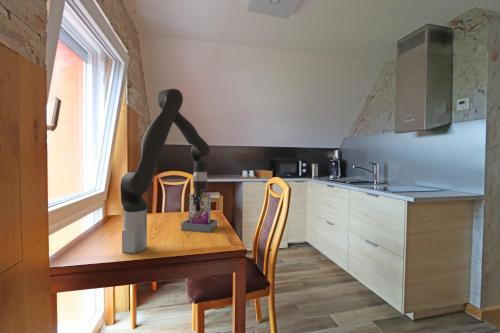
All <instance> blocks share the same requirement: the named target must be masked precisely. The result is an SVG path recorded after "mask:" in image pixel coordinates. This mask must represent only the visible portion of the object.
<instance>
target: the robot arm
mask: <svg viewBox="0 0 500 333" xmlns="http://www.w3.org/2000/svg"><path fill="white" fill-rule="evenodd" d="M155 99H156V102H157V105H158V106H159V107H160V110H161V111H160V112H159V114H158V115H157V117H156V118H154V119H153V121H152V122H151V123H150V124H149V126H148V127H147V129H146V131H145V133H144V134H143V136H142V139H141V145H140V154H141V155H140V156H141V157H140V161H139V164H138V166H137V168H136V170H135V172H134V171H130V172H127V173H125V174H123V176H122V177H121V180H120V185H119V186H120V189H119V190H120V202H121V205H122V209H123V211H122V212H123V213H122V214H123V216H122V217H123V218H122V222H123V227H122V229H121V253H126V254H137V253H140V252H144V251H145V250H146V249H147V248H148V204H147V201H145V200H144V197H143V195H144V194H146V193H147V192H148V190H150V188H151V185H152V181H153V178H154V174H155V172H156V166H157V164H158V162H159V159H160V157H161V153H162V150H163V149H164V147H165V144H166V141H167V139H168V136H169V133H170V130H171V128H172V126H173V123H174V125H175V127H177V128H178V130H179V131H180V133H181V135H182V136H183V137H184V139H185V140H186V142H187V143H188V144H189V145H192V146H191V147H190V148H191V149H190V154H191V159H192V162H193V176H192V179H193V180H192V181H193V182H192V188H193V189H194V190H195V193H193V201H194V204H195V205H196V211H198V212H199V211H200V201H201V195H203V194H207V191H208V190H206V189H207V188H208V173H207V171H208V169H207V163H208V162H206V161H205V160H203V159H202V158H203V157H208V156H209V154H210V152H211V150H210V149H211V148H210V146H209V144H208V143H207V142H206V141H205V140H204V139H203V138H202V137H201V136H200V134H199V132H198V131H197V129H196V127H195V126H194V125H193V124H192V123H191V122H190V121H189V120H188V119H187V118H186V117H185V116H183V114H181V113H180V109H181V107H182V105H183V100H184V97H183V93H182V91H180V90H179V89H177V88H169V89H163V90H160V91H158V93H157V94H156V98H155ZM198 198H200V199H198Z"/></svg>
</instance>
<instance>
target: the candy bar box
mask: <svg viewBox="0 0 500 333" xmlns="http://www.w3.org/2000/svg"><path fill="white" fill-rule="evenodd" d="M188 198H189V200H188V201H189V202H188V204H189V205H188V206H189V207H188V219H189V223H192V224H206V225H208V224H209V223H210V219H211V212H212V211H211V200H212V194H211V193H206V194H203V195H201V201H200V211H199V212H198V211H196V205H195V204H194V201H193V193H190V194H188ZM198 199H200V198H198Z"/></svg>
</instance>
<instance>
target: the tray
mask: <svg viewBox="0 0 500 333" xmlns="http://www.w3.org/2000/svg"><path fill="white" fill-rule="evenodd" d="M216 228H218V219H212V218H210V223H209V224H208V225H206V224H192V223H189V218H188V219H186V220H184V221H182V222H181V223H180V229H181V231H185V232H198V233H209V234H211V233H212V231H214V230H215V229H216Z"/></svg>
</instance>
